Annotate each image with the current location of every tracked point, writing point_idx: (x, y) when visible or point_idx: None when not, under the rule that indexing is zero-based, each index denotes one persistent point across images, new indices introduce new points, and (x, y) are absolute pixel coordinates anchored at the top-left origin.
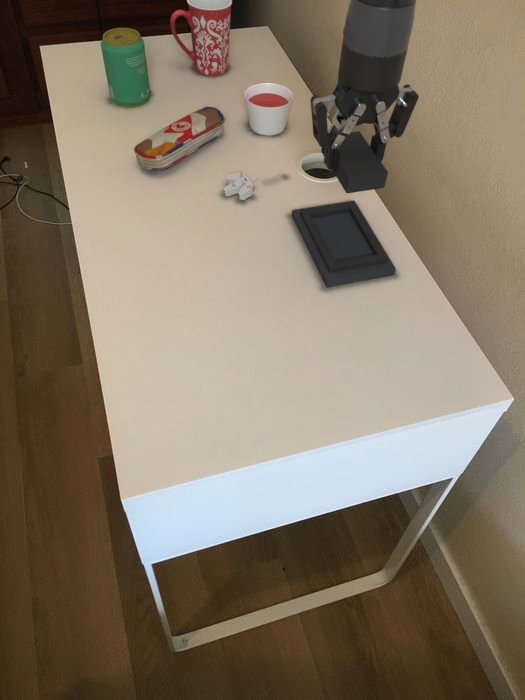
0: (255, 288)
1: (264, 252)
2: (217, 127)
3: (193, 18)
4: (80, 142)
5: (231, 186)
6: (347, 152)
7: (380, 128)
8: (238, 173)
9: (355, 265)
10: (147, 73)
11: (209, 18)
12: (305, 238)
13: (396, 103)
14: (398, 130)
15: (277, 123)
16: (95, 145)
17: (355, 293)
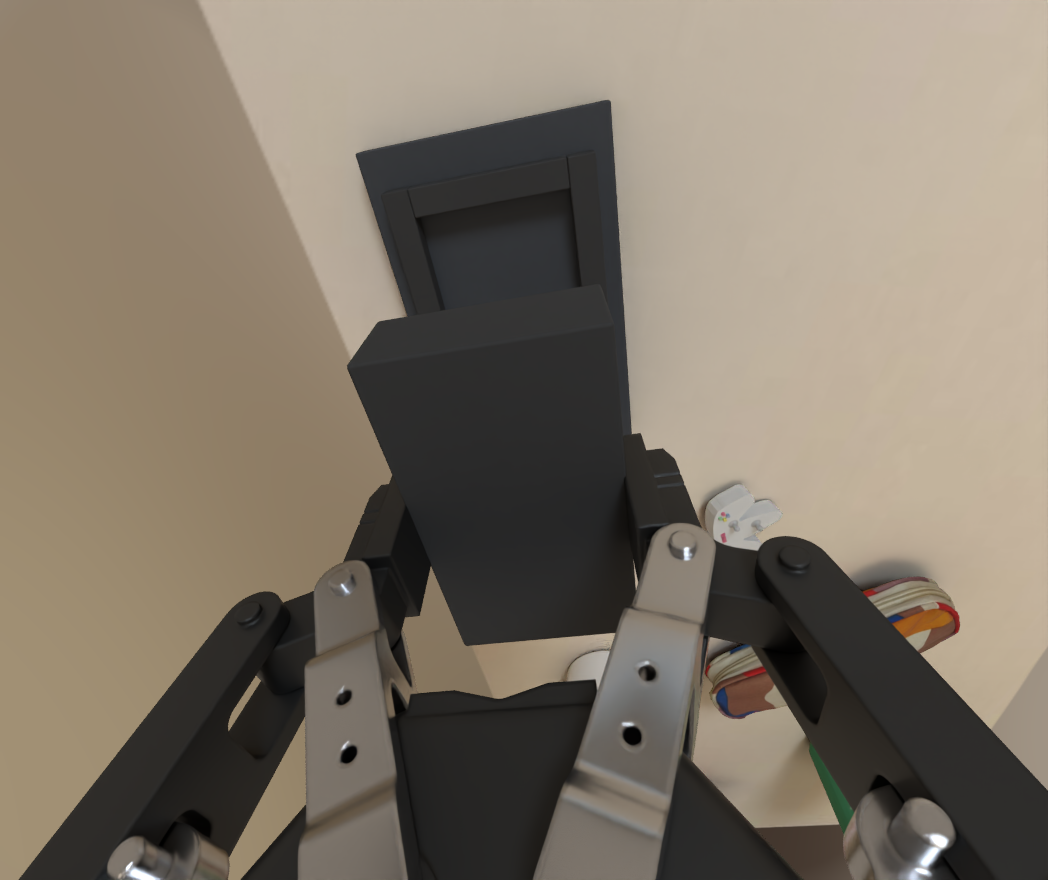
0: (848, 116)
1: (752, 292)
2: (736, 673)
3: None
4: (1007, 652)
5: (762, 521)
6: (558, 531)
7: (372, 651)
8: None
9: (499, 169)
10: (832, 788)
11: None
12: (624, 328)
13: (239, 830)
14: (250, 633)
15: (596, 676)
16: (982, 644)
17: (510, 57)
